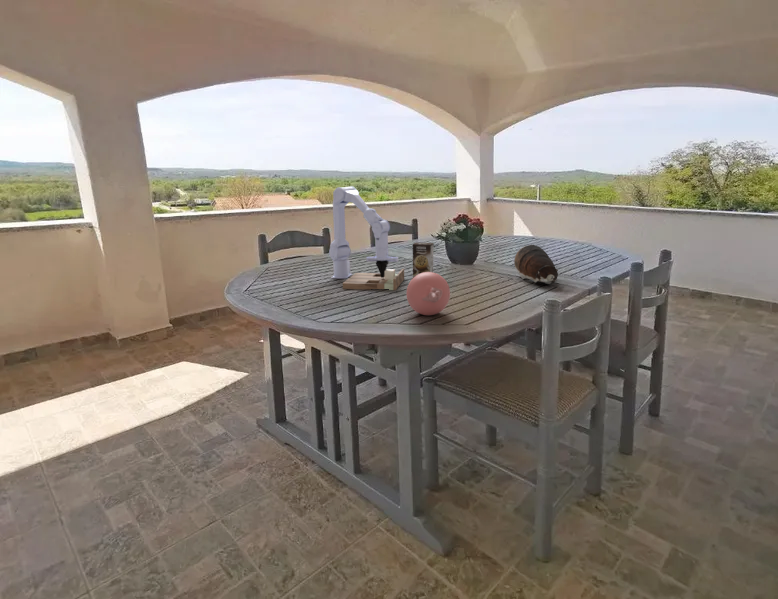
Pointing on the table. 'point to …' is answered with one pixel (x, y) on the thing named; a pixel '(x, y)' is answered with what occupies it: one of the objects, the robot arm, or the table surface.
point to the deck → (373, 281)
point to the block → (389, 274)
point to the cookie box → (422, 258)
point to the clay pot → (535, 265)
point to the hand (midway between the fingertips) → (382, 277)
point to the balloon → (428, 293)
